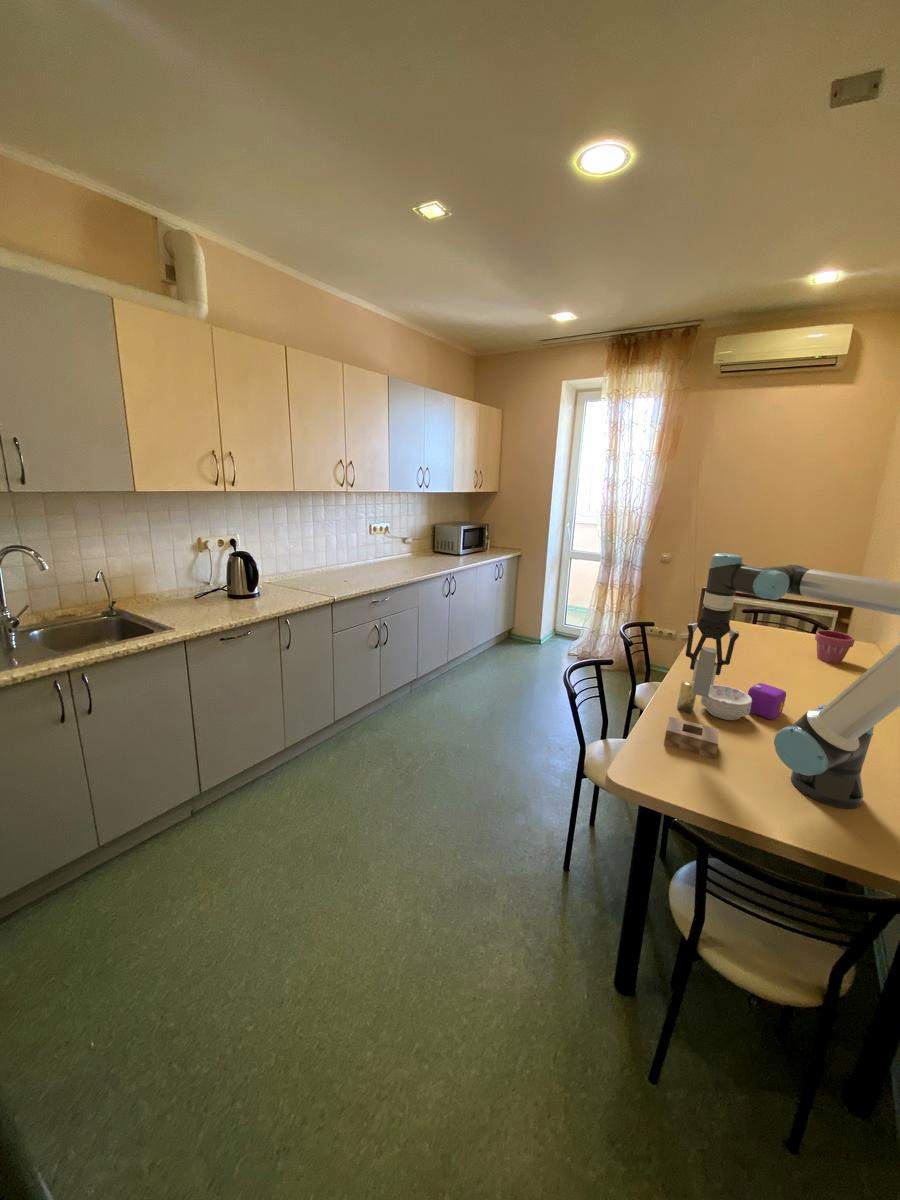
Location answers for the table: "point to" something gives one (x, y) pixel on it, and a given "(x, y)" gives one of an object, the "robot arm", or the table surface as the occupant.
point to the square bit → (704, 671)
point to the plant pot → (833, 645)
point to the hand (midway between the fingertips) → (702, 681)
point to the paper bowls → (727, 702)
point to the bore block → (692, 737)
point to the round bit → (686, 697)
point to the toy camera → (766, 700)
